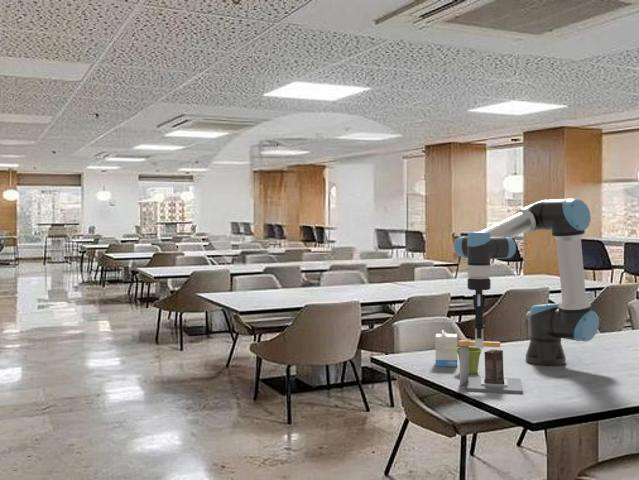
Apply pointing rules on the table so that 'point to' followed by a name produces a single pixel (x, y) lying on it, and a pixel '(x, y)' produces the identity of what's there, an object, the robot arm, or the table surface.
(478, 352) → the plant pot
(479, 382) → the grey stand
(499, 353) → the box
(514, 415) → the table surface
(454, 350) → the milk carton
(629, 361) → the table surface
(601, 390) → the table surface
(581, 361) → the table surface
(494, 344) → the clip
